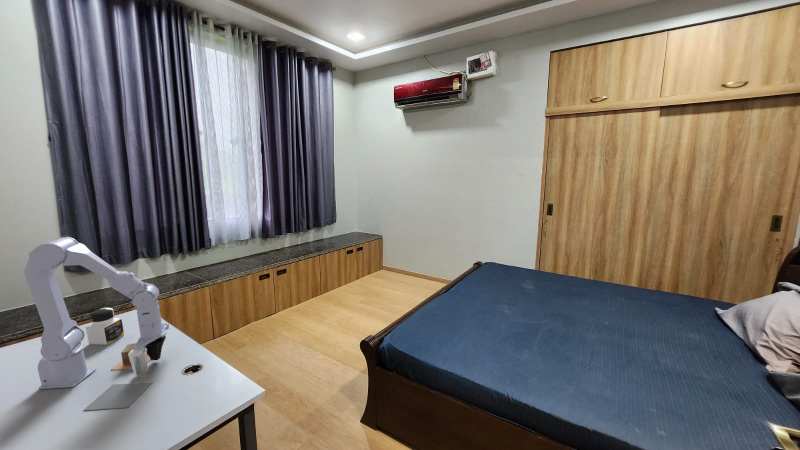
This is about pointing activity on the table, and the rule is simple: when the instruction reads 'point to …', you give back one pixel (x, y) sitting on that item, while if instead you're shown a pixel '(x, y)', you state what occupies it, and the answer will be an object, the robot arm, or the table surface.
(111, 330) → the medicine bottle
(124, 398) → the tile slate
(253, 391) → the table surface
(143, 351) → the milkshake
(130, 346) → the walnut block
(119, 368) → the tile terracotta
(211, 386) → the table surface
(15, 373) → the table surface
